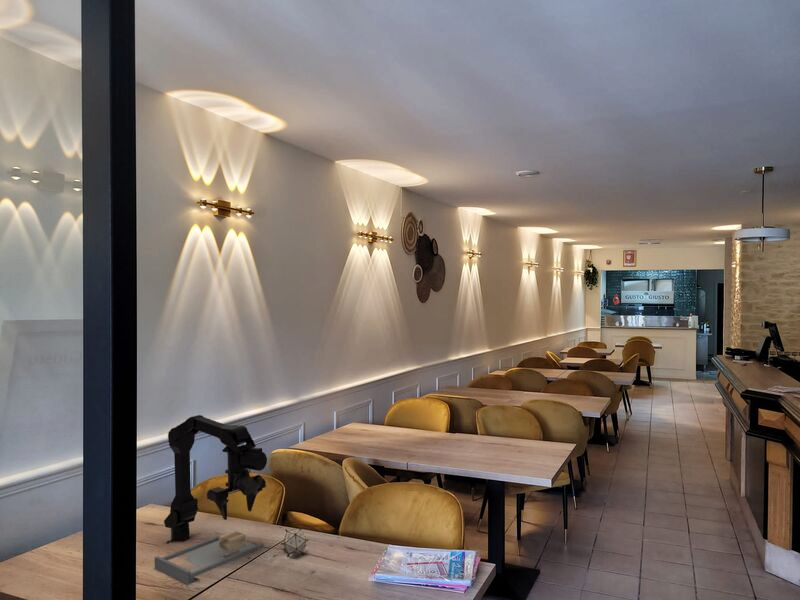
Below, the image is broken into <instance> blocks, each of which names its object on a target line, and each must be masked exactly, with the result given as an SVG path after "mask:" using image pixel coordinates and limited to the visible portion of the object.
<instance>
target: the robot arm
mask: <svg viewBox="0 0 800 600" xmlns="http://www.w3.org/2000/svg"><path fill="white" fill-rule="evenodd" d="M199 432H201V433H204V434H207V435H210V436H212V437H215V438H217V439H219V441H220V442H221V444H223V445H224V446H225V447H224V448H223V449H221V450H222V453H226V454H227V457H226V458H227V469H225V471H224V472H225V474H227V482H225V488H222V487H219V486H216V487H214V488H213V487H212V488H210V489H208V490H207V492H206V499H207V500H209V501H211V502H214V503H215V506H216V507H217V509H218V510H219V512H220V515H221V517H222V519H223V520H225V521H227V519H228V503H229V502H230V500H229V499H228V497H229V495H230V494H234V493H237V492H241V493H242V495H243V496H245V500H246V507H247V512H252V510H253V507H254V503H255V500H256V498H257V496H258V494H259V493H260V492H262V491H263V489H264V488H266V487H267V482H266V480H265V478H263V476H262V475H260V474H257V475H250V471H251V470H253V471H263V470H264V469H265V468H266V466H267V464H268V457H267V454H266V453H265V452H264V451H263V448H262V447H256V446H257V445H256V443H255V441H254V440H253V438H252V436H251V434H250V432H249V431H248V428H247V427H246V426H245V425H238V424H230V425H229V424H225V423H222V422H220V421H216V420H213V419H211V418H207V417H204V415H201V414H197V415H193V416H190V417H189V418H187V419H186V420H185V421H183V422H182V423H180V424H178V425H176V426H174V427H172V428H171V429H170V430H169V431H168V433H167V439H168V445H169V448H170V449H171V451H172V452H173V453H174V486H175V488H174V489H175V494H174V495H175V496H174V498H173V499H172V502H171V504H170V510H169V514H168V515H167V517H165V519H164V520H163V523H164V527H165V528H167V529H170V539H169V540H167V541H166V543H167V544H171V543H174V542H182V543H183V542H186V541H189V540H190V539H191V536H190V523H191V522H195V519H196V515H197V514H198V510H199V507H198V503H199V502H198V501H199V499H198V498H197V497H196V498H195V497H194V495H193V494H192V488H191V487H192V485H191V484H192V483H191V482H192V481H191V450H192V448H193V445H194V444H195V438H196V437H195V436H196V435H197V434H199Z"/></svg>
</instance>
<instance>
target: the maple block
mask: <svg viewBox="0 0 800 600" xmlns="http://www.w3.org/2000/svg"><path fill="white" fill-rule="evenodd" d="M226 533H227V534H225V533H223V534H224V535H223V534H221V535H222V536H220V535H218V536H219V547H220V548H222V549H225V550H228V551H230V552H231V551H233V550H236V549H238V548H240V547H243V546H245V545H246V542H247V541H246V540H247V537H246V534H244V533H243V532H239V531H237V530H232V531H229V533H228V532H226Z"/></svg>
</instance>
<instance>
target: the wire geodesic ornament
mask: <svg viewBox="0 0 800 600" xmlns="http://www.w3.org/2000/svg"><path fill="white" fill-rule="evenodd" d="M302 528H303V527H302V526H300V528H299V529H293V530H288V529H286V528H285V531H286V533H285V536H284V538H283V541H282V542H281V543H280V545H281V546H283V547H284V549H285V551H286V552H287V553H288V554H287V555H286V558H289V556H291V555H297V554H302V555H304V554H305V553H304V550H305V546H306V543H307V542H308V541H309V539H307V538H306V536H305V535H304V533H303V531H302Z"/></svg>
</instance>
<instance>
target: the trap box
mask: <svg viewBox="0 0 800 600" xmlns="http://www.w3.org/2000/svg"><path fill="white" fill-rule="evenodd" d="M229 532H230V531H229ZM229 532H226V533H223V534H221V535H218V536H215V537H212V538H210V539H207V540H204V541H202V542H200V543H197V544H193V545H191V546H189V547H187V548H183V549H181V550H178V551H175V552H174V553H170V554H168V555H165V556H163V557H161V556H158V555H157V556H154V569H155V570H156V571H160V572H161V573H163V574H166V575H167V576H169V577H172V578H174V579H175V580H177V581H179V582H182V583H183V584H186V585H190V584H192V583H194V582H197V581H199V580H200V579H199V578H198V577H197V576H199V575H202V574H204V573H207V572H209V571H211V570H214V569H216V568H217V567H220V566H223V565H226V564H229V562H231V561H235V560H236V559H239V558H241V557H243V556H247V555H248V554H251V553H254V552H255V551H259V550H261V549H263V548H264V543H259V544H254V543H251V542H249V541H246V545H245V546H243V547H240V548H238V549H236V550H233V551H231V552H230V551H228V550H225V549H222V548H220V547H219V536H222V535H224V534H227V533H229ZM237 551H238V552H237ZM234 552H237V553H234ZM232 553H234V554H232ZM230 554H232V555H230ZM182 555H184V556H186V557H187V558H185V559H184V560H185V561H186V562H188V563H191V564H193V565H196V567H193V568H191V569H187V568H185V567H183V566H180V565H178V564H176V563H174V562H171V561H170V560H172V559H174V558H177V557H180V556H182ZM227 555H229V556H228V557H226V558H225V557H224V556H227Z"/></svg>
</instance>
